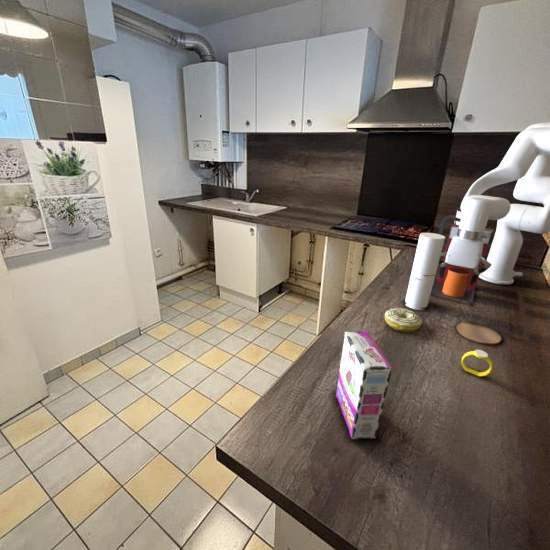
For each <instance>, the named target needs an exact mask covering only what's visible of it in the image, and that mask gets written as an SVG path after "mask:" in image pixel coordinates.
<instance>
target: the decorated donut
mask: <svg viewBox="0 0 550 550" xmlns="http://www.w3.org/2000/svg"><path fill="white" fill-rule="evenodd" d="M384 320H385V323H386V325H388V326H389V327H390V328H392V329H393V330H396V331H397V332H402V333H413V332H416V331H417V330H418V329H420V328H421V326H422V324H423V320H422V318H421V317H420V315H418V313H415V312H414V311H412V310H410V309H407V308H404V307H395V308H390V309H388V310H386V311H385V313H384Z"/></svg>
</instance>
